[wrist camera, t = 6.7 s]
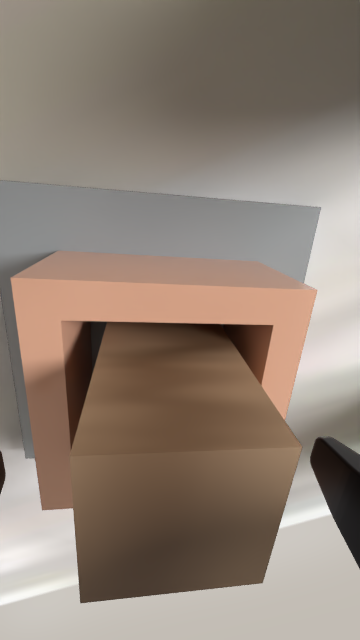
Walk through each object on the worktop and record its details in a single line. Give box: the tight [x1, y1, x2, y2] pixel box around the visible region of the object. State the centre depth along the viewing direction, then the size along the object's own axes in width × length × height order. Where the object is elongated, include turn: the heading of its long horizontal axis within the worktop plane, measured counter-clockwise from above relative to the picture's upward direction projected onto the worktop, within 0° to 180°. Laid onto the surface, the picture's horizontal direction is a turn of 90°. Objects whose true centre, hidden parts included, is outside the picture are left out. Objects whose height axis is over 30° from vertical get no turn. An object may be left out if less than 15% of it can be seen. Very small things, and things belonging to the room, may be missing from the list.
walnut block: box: [69, 321, 302, 603], centre depth 11 cm, size 4×4×9 cm
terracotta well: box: [0, 180, 321, 510], centre depth 13 cm, size 14×14×6 cm
